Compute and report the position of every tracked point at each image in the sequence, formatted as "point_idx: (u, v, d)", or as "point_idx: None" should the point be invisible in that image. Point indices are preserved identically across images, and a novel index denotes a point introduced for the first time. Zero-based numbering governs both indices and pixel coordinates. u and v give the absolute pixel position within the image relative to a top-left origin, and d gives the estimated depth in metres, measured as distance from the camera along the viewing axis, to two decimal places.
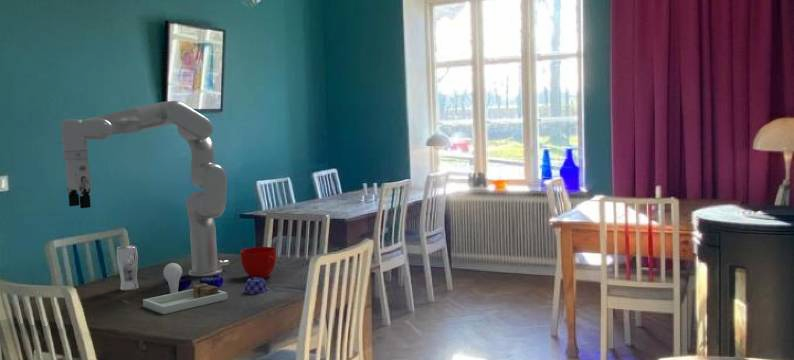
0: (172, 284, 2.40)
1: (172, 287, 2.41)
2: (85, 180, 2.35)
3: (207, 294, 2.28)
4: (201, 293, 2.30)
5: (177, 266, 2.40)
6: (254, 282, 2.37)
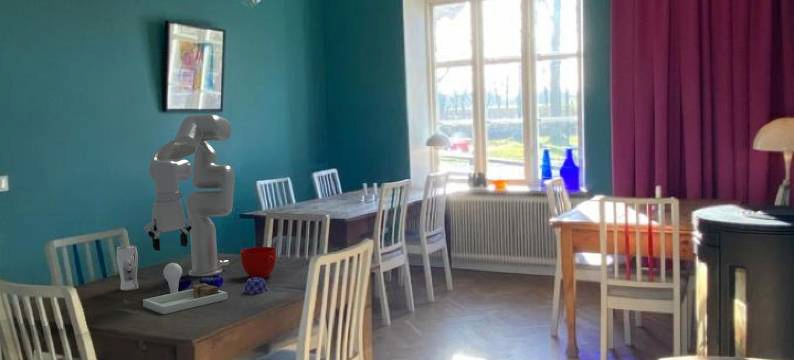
0: (172, 284, 2.40)
1: (172, 287, 2.41)
2: (187, 218, 2.44)
3: (207, 294, 2.28)
4: (201, 293, 2.30)
5: (177, 266, 2.40)
6: (254, 282, 2.37)
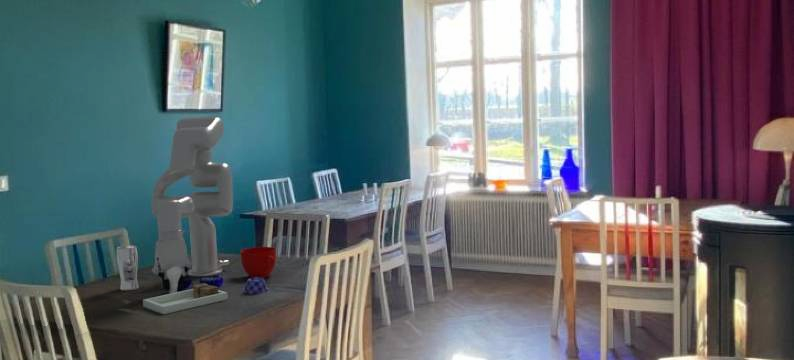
0: (171, 284, 2.40)
1: (171, 287, 2.40)
2: None
3: (207, 294, 2.28)
4: (201, 293, 2.30)
5: None
6: (253, 282, 2.37)
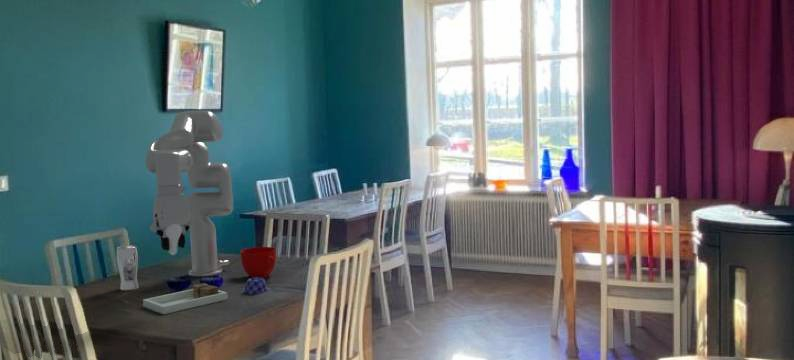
0: (171, 243, 2.22)
1: (171, 246, 2.23)
2: None
3: (207, 294, 2.28)
4: (201, 293, 2.30)
5: (177, 224, 2.23)
6: (253, 282, 2.37)
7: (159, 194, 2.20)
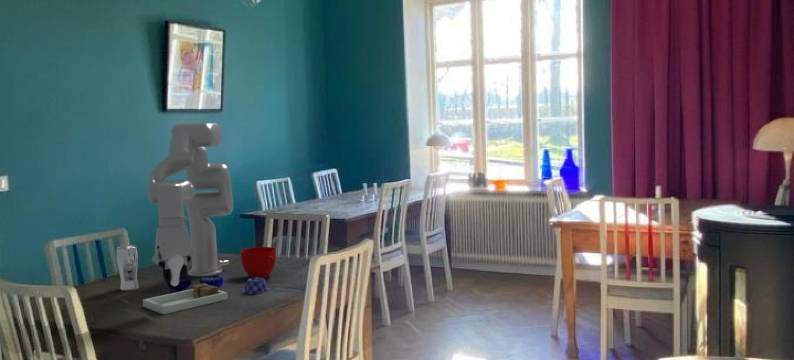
0: (173, 274, 2.23)
1: (173, 277, 2.23)
2: None
3: (207, 294, 2.28)
4: (201, 293, 2.30)
5: (179, 255, 2.23)
6: (253, 282, 2.37)
7: (161, 226, 2.21)
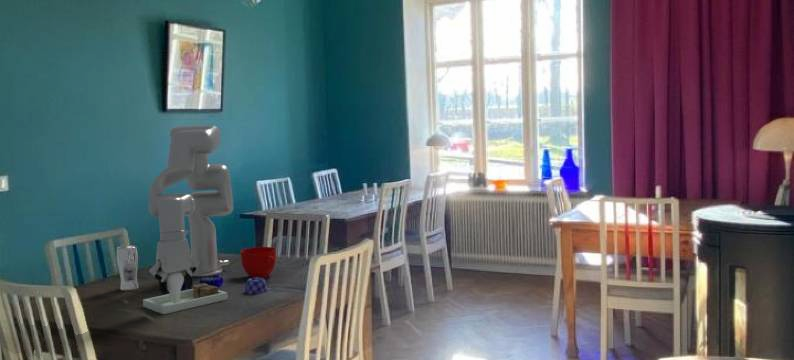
0: (173, 293, 2.24)
1: (174, 296, 2.25)
2: (193, 258, 2.29)
3: (207, 294, 2.28)
4: (201, 293, 2.30)
5: (178, 274, 2.24)
6: (253, 282, 2.37)
7: (162, 240, 2.21)
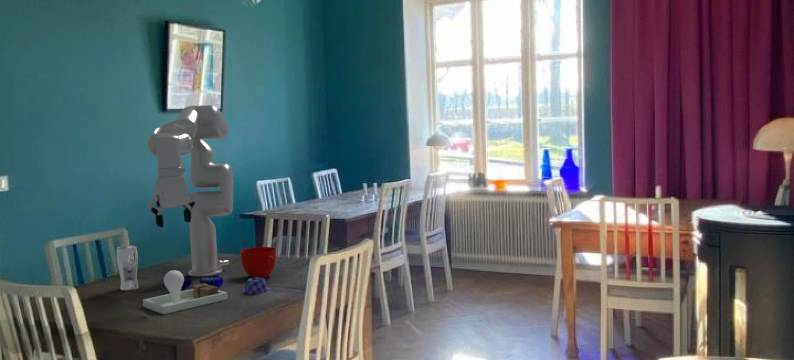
0: (174, 293, 2.24)
1: (174, 296, 2.25)
2: (191, 194, 2.39)
3: (207, 294, 2.28)
4: (201, 293, 2.30)
5: (179, 274, 2.24)
6: (252, 282, 2.37)
7: (160, 176, 2.30)
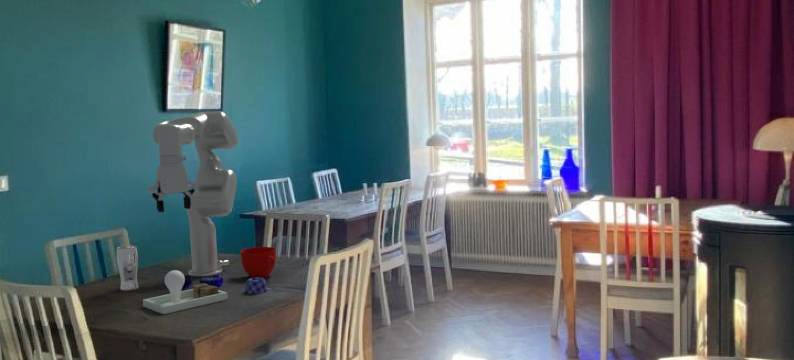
0: (175, 293, 2.24)
1: (175, 296, 2.25)
2: (190, 181, 2.49)
3: (207, 294, 2.28)
4: (201, 293, 2.30)
5: (180, 274, 2.24)
6: (252, 282, 2.37)
7: (161, 163, 2.41)
